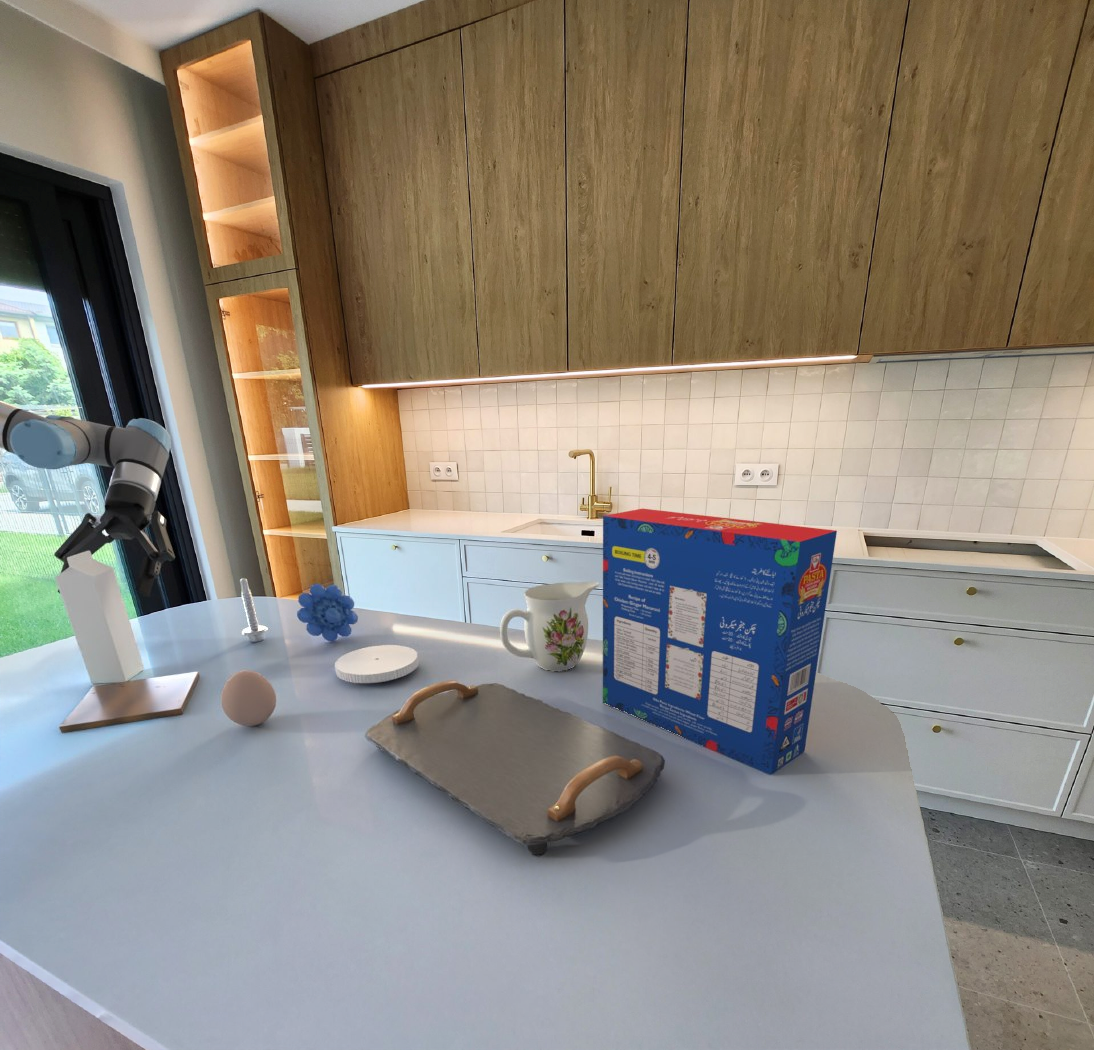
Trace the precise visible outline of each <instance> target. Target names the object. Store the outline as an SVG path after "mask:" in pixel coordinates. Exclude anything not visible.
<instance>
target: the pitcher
mask: <svg viewBox="0 0 1094 1050" xmlns="http://www.w3.org/2000/svg"><path fill="white" fill-rule="evenodd" d="M599 586H600V582H598V581H582V582H581V581H580V582H556V583H554V582H553V583H545V584H542V585H536V586H534V587H533V586H532V587H530V588H528V589H526V590H525V591H524V598H525V602H526V606H527V607H526V610H524V609H521V608H512V609H510V610H508V611H506V613H505V614H504V615H503V616H502V618H501V620H500V624H499V636H500V641H501V643H502V645H503V647H504V648H505V649H506V650H507V651H508V652H509V653H510V654H512V655H513V656H516V657H519V658H527V659H529V658H530V659H533V660H534V662H535V663H536V664H537V665H538V667H539V666H540V667H541V668H543V669H545V670H544V671H547V670H552V671H551V672H554V671H558V672H560V671H559V670H566V669H569V668H571V667H573V666H575V665H576V666H577V664H578V663H579V661H580V660H581V659H582V657H583V655H584V652H585V649H586V647H587V641H588V637H589V617H588V613H587V610H586V609H587V608H586V603H587V600H588V598H589V596H590V594H591V592H593V590H595V589H596V588H597V587H599ZM514 618H523V619H524V621H523V623H524V624H523V628H524V638H525V641H526V646H527V649H524V648H523V649H522V648H519V647H516V646H515V645H514V644H512V643H511V642H510V640H509V637H508V636H509V635H508V626H509V624H510V622H511V620H512V619H514ZM576 666H575V667H576ZM540 667H539V668H540ZM541 668H540V669H541ZM543 669H542V670H543ZM566 671H567V670H566Z"/></svg>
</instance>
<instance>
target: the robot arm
mask: <svg viewBox="0 0 1094 1050" xmlns="http://www.w3.org/2000/svg"><path fill="white" fill-rule="evenodd" d="M171 444H172V438H171V435H170V433H169V432H168V431H167V429H166V428H164V427H163V426H162V425H161V424H160V423H158V422H156V421H154V420H151V419H147V418H143V417H140V418H137V419H136V418H132V419H131V420H129V421H128V422H127V425H126V426H125V427H121V426H113V425H112V426H110V425H106V424H102V423H97V422H92V421H87V420H83V419H78V418H74V417H72V416H64V415H56V414H48V415H47V416H42V415H39V414H37V413H34V412H31V411H28V410H25V409H22V408H21V407H18V406H16V405H12V404H10V403H8V402H5V401H2V400H0V450H2V451H5V452H8V453H10V454H13V455H16V456H17V457H18V458H19V459H20V460H21V461H22V462H24V463H25V464H27V465H29V466H30V467H34V468H37V469H43V470H60V469H63V468H66V467H73V466H79V465H84V464H85V465H86V464H90V465H97V466H103V467H108V468H113V471H112V475H111V477H110V481H109V486H108V488H107V492H106V494H105V498H104V500H103V505H104V512H103V513H102V514H101V516H98V515H97V516H96V515H95V516H94V515H93V514H92V513H90V512H86V513H85V514H84V516H83V518H82V520H81V523H80V524H79V525H78V526H77V527H76V529H75V530H74V531H73V532H71V534H70V535H69V536H68V537H67V539H66V540H65V541H64V542H63V543H62V544H61V545H60V546H59V548H58V549H56V551H55V552H54V554H53V555H54V557H55V558H57V559H58V560H59V561H61V562H62V563H63V564H62V567H61V570H60V573H59V574H61V573H62V572H63V571H65V570H66V569H67V568H69V564H68V561H67V557H70V556H73V555H76V554H79V553H82V552H85V551H90V552H91V555H92V556H93V555H94V554H95V553H96V552H98V551H99V550H100V549H101V548H103V547H104V546H105V545H106V544H111V543H113V542H114V541H121V540H134V538H135V539H136V540H137V541H138V542H139V544H140V545H141V546H142V548H143V549H144V551H145V552H146V554H147V556H144V557H143V559H142V563H141V566H140V570H139V574H138V579H137V581H136V584H135V589H134V590H135V591H137V592H138V593H139V594H140V595H141V596H143V598H150V597H151V593H152V589H153V586H154V582H155V581H154V580H155V579H158V578H159V577H160V576H159V575H160V572H161V568H162V564H164V563H165V562H166V561H169V562H172V561H174V560H176V556H175V553H174V550H173V547H172V544H171V541H170V538H169V535H168V532H167V518H166V517H164V516H163V515H162V514H161V513H160V512H159V511H158V510H155V507H156V501H157V499H158V495H159V491H160V488H161V484H162V479H163V477H164V473H165V470H166V466H167V463H168V460H169V458H170V449H171ZM150 525H151V528H152V531H153V534H154V538H155V541H156V543H157V546H158V549H159V550H158V549H157V548H156V547H155V545H154V544H153V542H152V541H151V540H150V538H149V536H148V535H147V534H146V532H145V531H144V530H146V528H148V527H149V526H150ZM104 531H105V532H106V534H107V535H106V534H105V533H103V532H104ZM57 593H59V594H60V591H59V588H58V589H57Z"/></svg>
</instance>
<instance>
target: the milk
mask: <svg viewBox="0 0 1094 1050" xmlns="http://www.w3.org/2000/svg"><path fill="white" fill-rule="evenodd" d="M67 561H68V564H69V568H67V569H66V570H65V571H63V572H62V573H61V572H60V573H61V574H60V573H59V574H58V575H57V576H55V577H54V580H55V582H56V586H57V588H58V589H59V591H60V593H59V594H60V597H61V600H62V603H63V605H64V608H65V612H66V614H67V617H68V620H69V623H70V626H71V628H72V632H73V635H74V637H75V640H76V642H77V646H78V649H79V651H80V654H81V658H82V660H83V663H84V666H85V668H86V671H87V675H88V677H89V680H90V684H93V685H94V684H95V685H96V684H111V683H118V682H125V681H131V679H133V678H134V677H136V676H137V675H138V674H140V673H141V672H143V671H144V670H145V667H144V664H143V659H142V657H141V653H140V649H139V647H138V644H137V640H136V637H135V634H134V630H133V628H132V624H131V621H130V618H129V614H128V612H127V607H126V605H125V602H124V599H123V596H122V592H121V589H120V585H119V583H118V579H117V575H116V572H115V569H114V567H112V566H110V565H107V564H105V563H103V562H101V561H98V560H96V559H94V558H93V555H91V552H90V551H85V552H82V553H79V554H76V555H73V556H70V557H67Z"/></svg>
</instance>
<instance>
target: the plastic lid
mask: <svg viewBox="0 0 1094 1050" xmlns="http://www.w3.org/2000/svg"><path fill="white" fill-rule="evenodd" d="M419 661H420V660H419V654H418V652H417V650H415V649H413V648H412V647H409V646H407V645H406V646H405V645H398V644H397V645H396V644H383V645H382V644H381V645H372V646H366V647H362V648H357V649H354V650H352V651H350V652H347V653H345V654H343V655H341V656H340V657H339V658H337V659H336V660H335V662H334V669H335V674H336V676H337V678H339V679H340V680H342V681H345V682H347V683H353V684H374V683H382V682H389V681H392V680H396V679H399V678H403V677H405V676H407V675H409V674H411V673H412V672H413V671H415V670H416V669H417V668H418V667H419V664H420V662H419Z"/></svg>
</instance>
